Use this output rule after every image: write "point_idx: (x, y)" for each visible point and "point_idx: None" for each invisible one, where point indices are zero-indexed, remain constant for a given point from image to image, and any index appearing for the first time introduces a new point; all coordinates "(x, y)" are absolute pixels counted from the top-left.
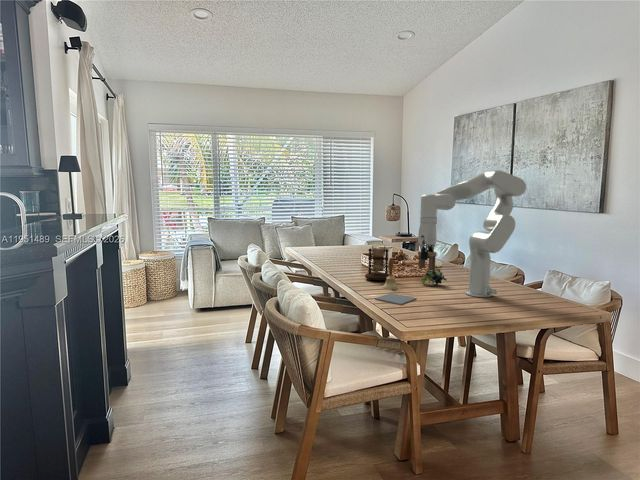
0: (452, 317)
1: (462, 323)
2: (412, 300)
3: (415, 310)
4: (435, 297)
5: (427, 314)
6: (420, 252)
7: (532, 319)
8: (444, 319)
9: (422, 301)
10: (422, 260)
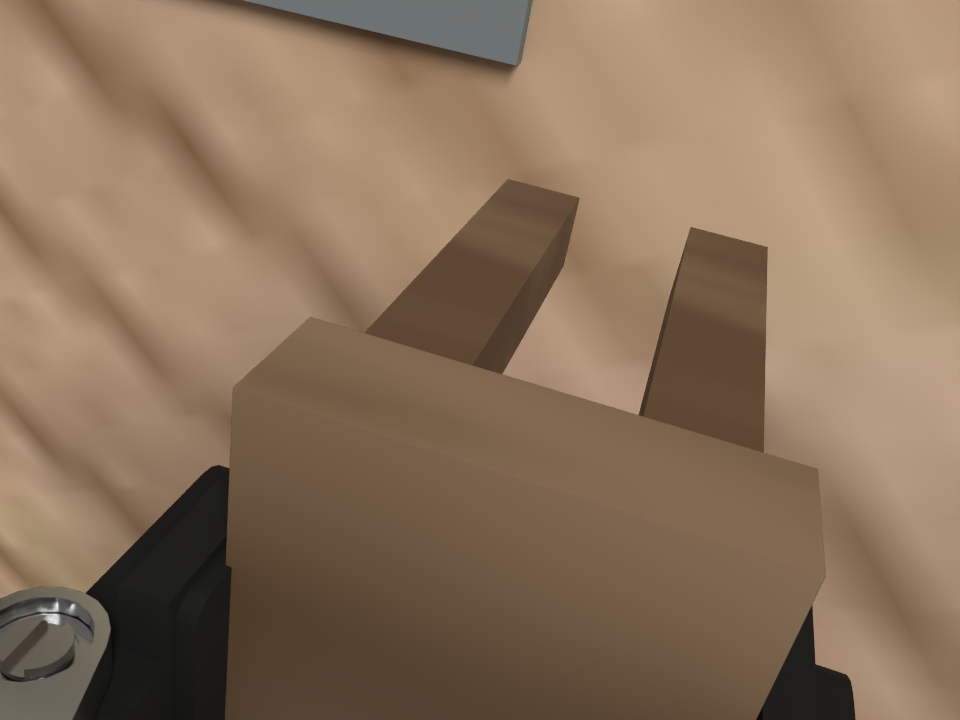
0: (104, 523)
1: (27, 586)
2: (404, 35)
3: (55, 195)
4: (779, 289)
5: (28, 330)
6: (235, 497)
7: None
8: (14, 472)
9: (455, 172)
10: (660, 344)
